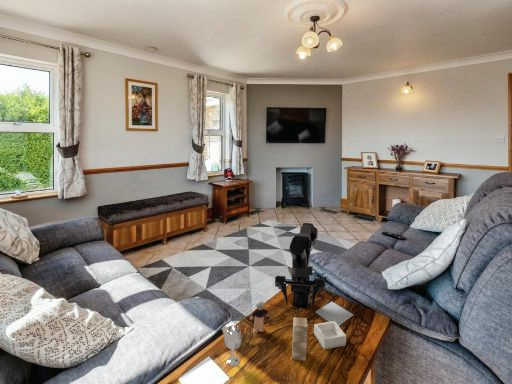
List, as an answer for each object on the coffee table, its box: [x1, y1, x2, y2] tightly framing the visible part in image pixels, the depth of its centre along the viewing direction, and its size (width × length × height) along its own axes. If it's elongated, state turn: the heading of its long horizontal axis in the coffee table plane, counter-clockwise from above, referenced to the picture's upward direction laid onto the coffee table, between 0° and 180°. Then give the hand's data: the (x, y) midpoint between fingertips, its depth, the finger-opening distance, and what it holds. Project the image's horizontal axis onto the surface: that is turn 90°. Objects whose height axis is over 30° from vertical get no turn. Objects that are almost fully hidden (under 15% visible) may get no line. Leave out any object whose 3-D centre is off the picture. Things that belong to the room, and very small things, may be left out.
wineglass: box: [224, 324, 243, 367], centre depth 95 cm, size 6×6×12 cm
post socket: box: [313, 320, 347, 350], centre depth 107 cm, size 9×9×4 cm
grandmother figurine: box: [249, 300, 270, 334], centre depth 111 cm, size 8×4×13 cm, turn 117°
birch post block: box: [291, 316, 309, 361], centre depth 98 cm, size 4×4×13 cm
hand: (299, 306), depth 105 cm, fingers open, 9 cm apart
